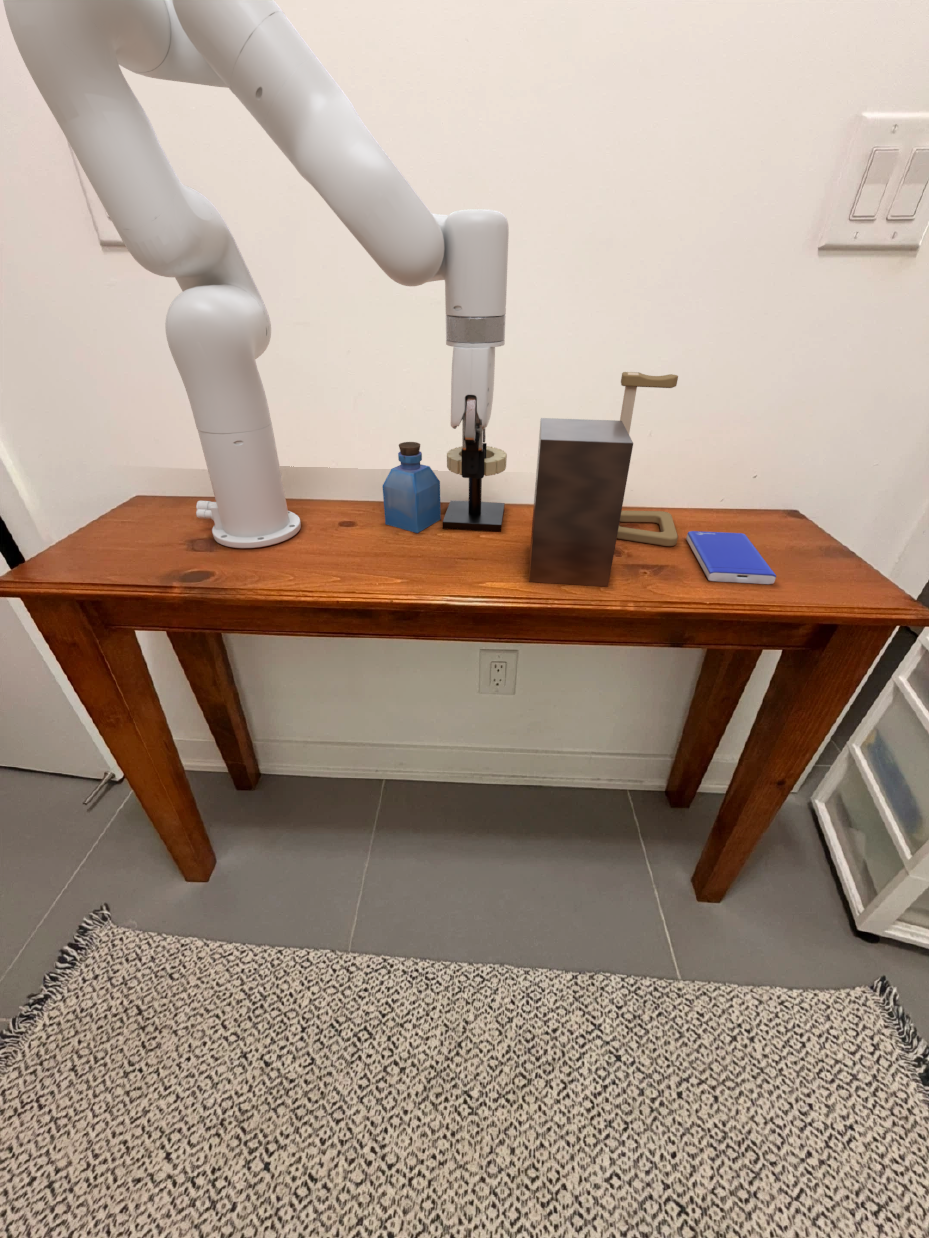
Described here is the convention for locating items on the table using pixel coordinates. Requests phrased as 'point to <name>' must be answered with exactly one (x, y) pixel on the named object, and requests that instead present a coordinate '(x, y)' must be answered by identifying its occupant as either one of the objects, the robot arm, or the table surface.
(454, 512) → the post
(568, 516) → the stand box
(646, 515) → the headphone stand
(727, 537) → the hard drive
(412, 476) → the perfume bottle
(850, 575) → the table surface
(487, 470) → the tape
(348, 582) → the table surface
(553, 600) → the table surface
